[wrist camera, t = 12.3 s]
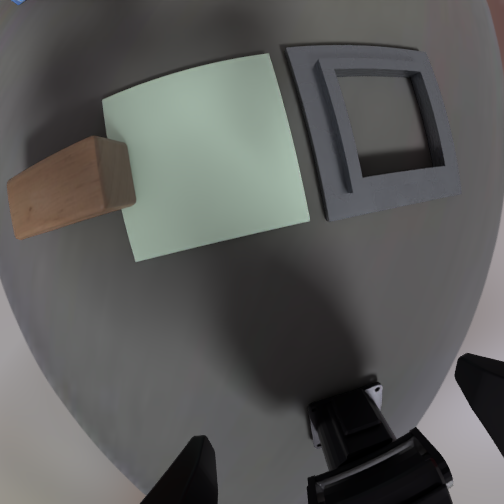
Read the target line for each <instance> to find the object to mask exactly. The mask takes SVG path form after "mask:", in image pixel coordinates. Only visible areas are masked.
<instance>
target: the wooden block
mask: <svg viewBox="0 0 504 504" xmlns="http://www.w3.org/2000/svg"><path fill="white" fill-rule="evenodd" d="M7 192H8V200H9V207H10V213H11V219H12V224H13V230H14V234H15V237H16V239H20V240H23V239H26V238H29V237H32V236H35V235H39V234H42V233H45V232H49V231H52V230H55V229H58V228H61V227H64V226H67V225H70V224H73V223H76V222H80V221H83V220H86V219H89V218H93V217H96V216H99V215H103V214H106V213H110V212H113V211H117V210H120V209H124V208H127V207H131V206H133V205H134V204H135V203H136V194H135V189H134V183H133V178H132V172H131V166H130V160H129V153H128V147H127V145H126V143H124V142H120V141H116V140H112V139H108V138H104V137H99V136H90V137H88V138H86V139H83V140H81V141H79V142H77V143H75V144H73V145H71V146H69V147H66V148H64V149H62V150H60V151H59V152H57V153H55V154H53V155H51V156H49V157H47V158H45V159H43V160H42V161H40V162H38V163H36V164H35V165H33V166H31V167H29V168H28V169H26V170H24V171H23V172H21V173H19V174H18V175H16V176H15V177H13V178H11V179H10V180H9V181H8V182H7Z"/></svg>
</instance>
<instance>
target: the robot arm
mask: <svg viewBox="0 0 504 504" xmlns="http://www.w3.org/2000/svg"><path fill="white" fill-rule="evenodd" d="M455 379H456V381H457V383H458V385H459V387H460V388H461V390H462V392H463V394H464V395H465V397H466V399H467V401H468V403H469V405H470V406H471V408H472V410H473V411H474V413H475V414H476V416H477V417H478V418H479V420H480V421H481V423H482V424H483V426H484V427H485V429H486V430H487V432H488V433H489V435H490V436H491V438H492V439H493V441H494V443H495V444H496V446H497V447H498V449H499V451H500V452H501V454H502V456H503V457H504V362H503V361H499V360H495V359H491V358H486V357H482V356H478V355H474V354H470V353H466V354H464V355H462V356H460V357H459V359H458V361H457V366H456V370H455ZM382 388H383V387H382V385H381V384H380V383H379V382H376V383H373V384H371V385H368V386H365V387H362V388H359V389H356V390H353V391H350V392H347V393H344V394H341V395H338V396H335V397H331V398H328V399H324V400H321V401H317V402H314V403H311V404H310V405H309V406H308V413H309V419H310V425H311V432H312V438H313V444H314V447H315V448H322V450H323V453H324V456H325V459H326V462H327V466H328V469H329V471H328V472H325V473H323V474H320V475H317V476H315V475H314V476H311V477H308V486H307V495H308V504H453V503H452V500H451V497H450V494H449V491H448V489H449V488H451V487H452V486H453V478H452V475H451V472H450V469H449V467H448V465H447V463H446V461H445V460H444V458H443V457H442V456H441V454H440V453H439V452H438V451H437V450H436V449H435V447H434V446H433V445H432V444H431V443H430V442H429V441H428V440H427V439H426V437H425V436H424V435H423V434H422V433H421V432H420V431H419V430H418V429H417V428H416V427H415V428H413V429H412V430H410V432H409V433H407V434H405V435H404V436H402V437H400V438H398V439H396V437H395V435H394V433H393V432H392V430H391V428H390V427H389V425H388V423H387V421H386V420H385V418H384V416H383V415H382V413H381V402H382ZM313 408H314V409H313ZM140 504H218V484H217V472H216V459H215V451H214V449H213V447H212V445H211V443H210V441H209V440H208V438H207V437H206V436H205V435H200V436H193V437H192V438H191V440H190V441H189V442H188V444H187V445H186V446H185V448H184V449H183V450H182V452H181V453H180V454H179V455H178V457H177V458H176V459H175V461H174V462H173V463H172V465H171V466H170V467H169V468H168V470H167V471H166V472H165V473H164V475H163V476H162V477H161V478H160V480H159V481H158V482H157V483H156V485H155V486H154V487H153V488H152V490H151V491H150V492H149V493H148V494H147V496H146V497H145V498H144V499H143V500H142V502H141V503H140Z"/></svg>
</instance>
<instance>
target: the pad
mask: <svg viewBox="0 0 504 504" xmlns="http://www.w3.org/2000/svg"><path fill="white" fill-rule="evenodd" d="M102 104H103V112H104V120H105V127H106V134H107V138H108V139H112V140H116V141H120V142H124V143H126V145H127V147H128V153H129V160H130V166H131V172H132V178H133V183H134V189H135V194H136V203H135V204H134V205H133V206H131V207H127V208H124V209H121V210H122V214H123V218H124V222H125V226H126V230H127V233H128V237H129V241H130V244H131V248H132V251H133V255H134V258H135V261H136V262H138V261H142V260H146V259H150V258H154V257H158V256H162V255H166V254H170V253H174V252H179V251H183V250H187V249H191V248H195V247H199V246H203V245H208V244H212V243H216V242H220V241H225V240H229V239H233V238H237V237H242V236H246V235H250V234H255V233H259V232H263V231H268V230H272V229H277V228H281V227H285V226H290V225H294V224H299V223H303V222H308V221H310V217H309V212H308V207H307V202H306V197H305V193H304V188H303V183H302V179H301V174H300V169H299V165H298V161H297V156H296V152H295V148H294V144H293V140H292V135H291V131H290V127H289V124H288V120H287V116H286V112H285V108H284V104H283V101H282V97H281V93H280V90H279V86H278V83H277V79H276V76H275V72H274V69H273V66H272V62H271V59H270V56H269V53H267V54H260V55H253V56H247V57H241V58H236V59H230V60H225V61H220V62H216V63H211V64H207V65H203V66H199V67H195V68H191V69H187V70H184V71H180V72H177V73H173V74H170V75H167V76H164V77H161V78H157V79H154V80H151V81H149V82H146V83H143V84H140V85H137V86H135V87H132V88H129V89H127V90H124V91H122V92H119V93H117V94H115V95H112V96H110V97H107V98H105V99H103V100H102Z"/></svg>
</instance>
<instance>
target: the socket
mask: <svg viewBox="0 0 504 504" xmlns="http://www.w3.org/2000/svg"><path fill="white" fill-rule="evenodd" d="M285 54H286V57H287V61H288V64H289V67H290V70H291V73H292V77H293V80H294V83H295V87H296V90H297V94H298V97H299V101H300V104H301V108H302V112H303V115H304V119H305V123H306V127H307V131H308V135H309V139H310V143H311V147H312V152H313V156H314V160H315V165H316V169H317V174H318V179H319V183H320V188H321V193H322V198H323V203H324V209H325V214H326V219H327V221H329V222H331V221H335V220H340V219H344V218H349V217H354V216H358V215H363V214H368V213H372V212H377V211H381V210H386V209H391V208H396V207H400V206H405V205H410V204H415V203H419V202H424V201H429V200H434V199H439V198H444V197H449V196H454V195H458V194H462V193H461V184H460V177H459V170H458V164H457V158H456V153H455V148H454V143H453V138H452V134H451V129H450V125H449V121H448V117H447V114H446V110H445V106H444V103H443V100H442V96H441V93H440V90H439V87H438V84H437V81H436V78H435V75H434V72H433V70H432V67H431V64H430V62H429V59H428V57H427V54H426V52H421V51H415V50H408V49H399V48H390V47H378V46H360V45H318V46H300V47H287V48H286V49H285ZM345 76H390V77H409V78H410V79H411V82H412V85H413V88H414V91H415V94H416V97H417V101H418V104H419V108H420V111H421V115H422V118H423V122H424V126H425V130H426V135H427V139H428V144H429V148H430V153H431V158H432V164H433V167H426V168H419V169H411V170H404V171H397V172H390V173H384V174H377V175H371V176H365V177H362V172H361V167H360V163H359V158H358V153H357V149H356V145H355V140H354V136H353V132H352V128H351V124H350V121H349V117H348V113H347V110H346V106H345V103H344V99H343V96H342V92H341V89H340V86H339V83H338V80H337V77H345Z"/></svg>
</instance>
